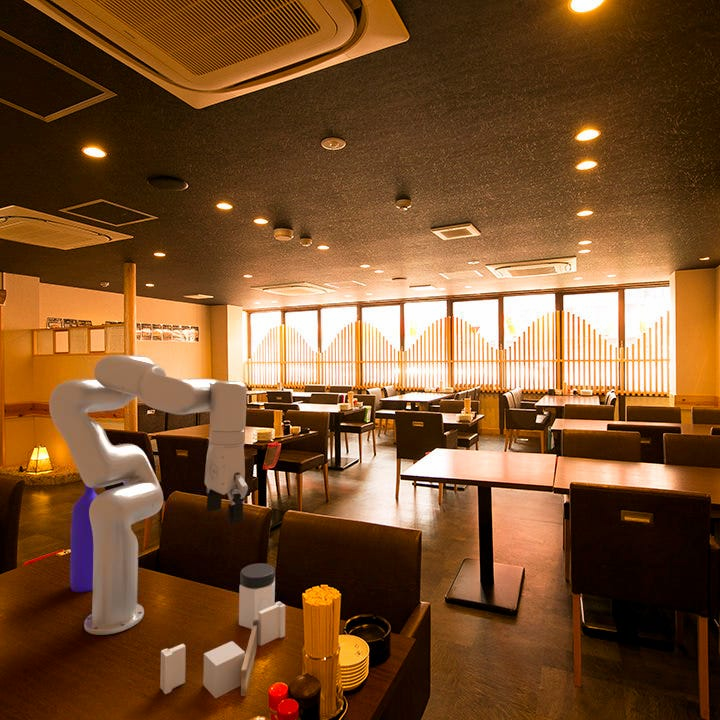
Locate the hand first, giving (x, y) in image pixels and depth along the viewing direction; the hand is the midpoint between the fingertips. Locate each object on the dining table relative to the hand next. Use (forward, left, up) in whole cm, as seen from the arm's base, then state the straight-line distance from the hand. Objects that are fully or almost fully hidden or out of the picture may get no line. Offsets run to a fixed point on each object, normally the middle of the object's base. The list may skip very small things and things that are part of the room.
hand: (224, 516), depth 100 cm
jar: (-5, +12, -29) cm, 32 cm away
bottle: (-52, -13, -29) cm, 61 cm away
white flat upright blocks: (+4, -1, -29) cm, 29 cm away
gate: (+10, +1, -29) cm, 30 cm away
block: (+10, -5, -29) cm, 31 cm away
